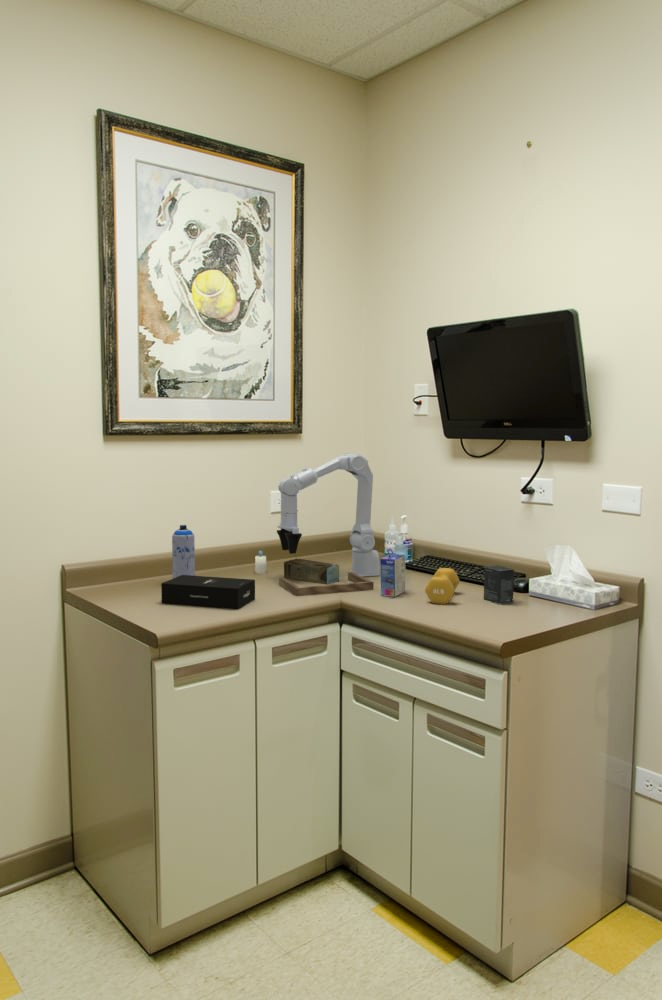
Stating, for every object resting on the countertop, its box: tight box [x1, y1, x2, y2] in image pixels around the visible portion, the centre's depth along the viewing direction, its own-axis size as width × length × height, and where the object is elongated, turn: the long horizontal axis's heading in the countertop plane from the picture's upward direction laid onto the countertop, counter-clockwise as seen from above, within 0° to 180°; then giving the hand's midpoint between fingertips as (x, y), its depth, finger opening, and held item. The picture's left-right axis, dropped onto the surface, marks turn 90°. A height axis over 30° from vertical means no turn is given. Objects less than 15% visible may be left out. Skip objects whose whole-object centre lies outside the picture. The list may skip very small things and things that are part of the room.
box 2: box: [483, 564, 515, 605], centre depth 236 cm, size 8×6×11 cm
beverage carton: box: [283, 557, 340, 585], centre depth 268 cm, size 8×19×7 cm, turn 56°
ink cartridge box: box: [379, 548, 406, 598], centre depth 246 cm, size 10×6×14 cm, turn 155°
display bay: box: [278, 571, 375, 597], centre depth 255 cm, size 27×18×2 cm, turn 112°
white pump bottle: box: [254, 550, 267, 575], centre depth 279 cm, size 4×4×8 cm
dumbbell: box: [424, 567, 460, 605], centre depth 241 cm, size 19×9×8 cm, turn 164°
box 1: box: [160, 575, 256, 610], centre depth 234 cm, size 25×14×7 cm, turn 74°
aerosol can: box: [171, 524, 196, 579], centre depth 259 cm, size 8×8×20 cm
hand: (289, 551), depth 265 cm, fingers open, 7 cm apart
